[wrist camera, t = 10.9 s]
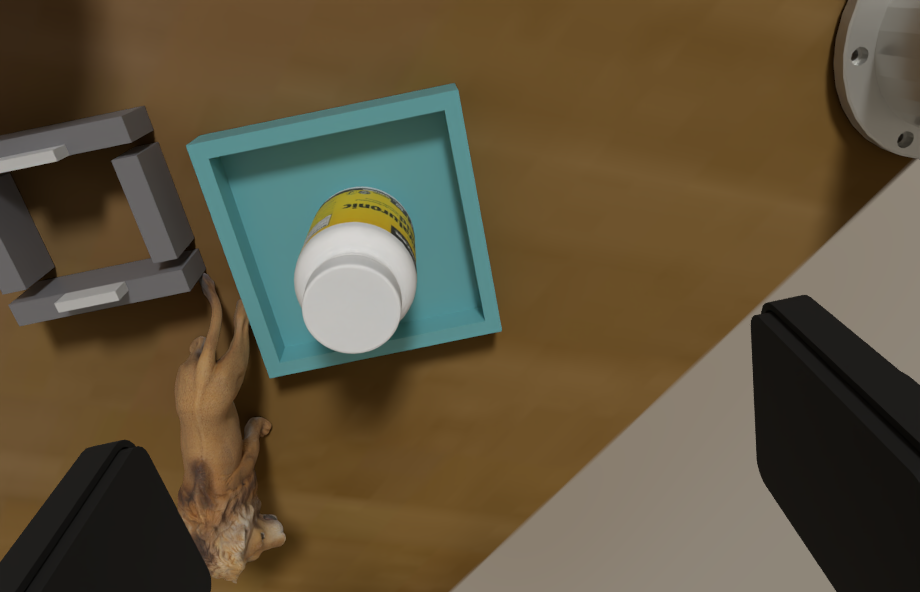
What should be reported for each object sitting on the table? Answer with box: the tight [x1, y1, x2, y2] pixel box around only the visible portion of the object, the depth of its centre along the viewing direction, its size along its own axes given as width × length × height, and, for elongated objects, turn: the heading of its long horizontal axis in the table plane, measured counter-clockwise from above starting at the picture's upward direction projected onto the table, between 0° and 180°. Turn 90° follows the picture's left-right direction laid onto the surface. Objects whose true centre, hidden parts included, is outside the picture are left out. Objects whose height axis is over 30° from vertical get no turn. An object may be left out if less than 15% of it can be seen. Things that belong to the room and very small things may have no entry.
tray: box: [186, 83, 502, 378], centre depth 35 cm, size 13×13×2 cm
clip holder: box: [0, 106, 206, 326], centre depth 33 cm, size 9×9×4 cm
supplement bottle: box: [294, 187, 417, 354], centre depth 31 cm, size 5×5×10 cm
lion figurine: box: [175, 273, 286, 583], centre depth 36 cm, size 15×5×9 cm, turn 6°
